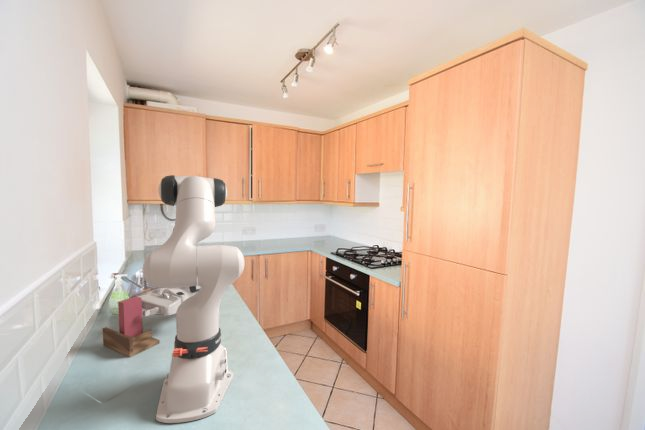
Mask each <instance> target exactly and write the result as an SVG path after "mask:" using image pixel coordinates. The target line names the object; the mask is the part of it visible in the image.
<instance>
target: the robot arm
mask: <svg viewBox="0 0 645 430" xmlns="http://www.w3.org/2000/svg"><path fill="white" fill-rule="evenodd" d="M158 195H159V197H160V200H161V202H162V203H163V204H165V205H167V206H170V207H174V206H175V220H174V227H173V229H172V231H171V232H172V233H171V234H170V236H169V237H168V239H167V240H166V241H165V242H164V243H163V244H162V245H161V246H160V247H158V248H157V249H154V250H152V252H150V253H149V254H148V255H147V257H146V258H145V260H144V262H143V266H142V275H143V279H144V281H145V282H146V284H148V285H149V286H150V288H155V289H156V288H157V289H163V290H162V292H161V293H156V292H150V293H145V294H142V295H137V297H141V298H142V316H144V317H149V316H153V315H161V316H163V317H164V316H165V317H166V316H172V315H175V319H176V321H175V323H176V324H175V325H176V328H175V329H176V335H175V336H174V343H173V345H174V346H173V347H174V348H173V351H172V353H171V361H170V367H169V372H168V373H167V374H166V378H165V379H164V380H163V383H162V387H161V391H160V396H159V399H158V405H157V410H156V414H155V420H156V421H157V422H158V423H162V424H179V423H185V422H186V423H187V422H192V421H193V422H194V421H196V420H201V419H204V418H206V417H209V416H211V415H213V414H215V413H216V412H217V411H218V409H219V408H220V405H221V404H222V401H223V399H224V398H225V395H226V393H227V391H228V389H229V387H230V385H231V384H232V381H233V379H234V376H235V375H234V372H233V370H229V369H228V355H227V353H228V352H227V348H226V347H225V346H223V344H222V333H221V331H222V330H221V327H220V309H221V308H220V307H221V302H222V299H223V297H224V295H225V294H226V291H228V288H230V286H231V285H232V284H233V283H234V282H235V281H236V280H238V278H239V279H240V277H241V275H242V274H243V272H244V269H245V266H246V265H245V264H246V262H245V256H244V254H243V252H242V250H240V248H238V247H237V246H235V245H234V246H233V245H228V244H227V245H226V244H214V245H213V244H211V245H197V244H198V243H200V242H202V241H203V240H205V239H207V238H209V237H210V236H211V235H212V234H213V233H214V231H215V230H216V226H217V223H216V208H218V207H221V206H223V205H224V204H225V202H226V200H227V197H228V188H227V186H226V182H224V180H223V179H219V178H215V177H214V178H212V177H205V176H200V175H174V174H172V175H170V174H169V175H165V176H164V177H162V178H161V180H160V182H159V184H158Z"/></svg>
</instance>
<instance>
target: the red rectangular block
mask: <svg viewBox="0 0 645 430" xmlns="http://www.w3.org/2000/svg"><path fill="white" fill-rule="evenodd" d="M137 296H138V295H137ZM137 296H133V297H129V298H126V299H123V300H119V301H118V302H117V307H118V308H117V310H118V332H119V333H122V334H125V335H127V336H130V337H134V336H136V335H139V334H141V333H143V332H144V331H143V329H144V328H143V309H142V298H141V297H137Z"/></svg>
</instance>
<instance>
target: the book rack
mask: <svg viewBox="0 0 645 430" xmlns="http://www.w3.org/2000/svg"><path fill="white" fill-rule="evenodd" d="M158 344H160V339H158V338H155V337H153V331H152V330H151V329H148V330H146V331H143V333H141V334H139V335H136V336H134V337H130V336H127V335H125V334H122V333H119V331H117V330H114V329H111V328H109V327H108V326H105V327H102V345H103V347H106V348H108V349H111V350H113V351H115V352H117V353H119V354H121V355H124V356H125V357H128V358H132V357H133V356H136V355H139V354H140V353H142V352H144V351H146V350H149V349H150V348H153V347H155V346H157V345H158Z"/></svg>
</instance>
